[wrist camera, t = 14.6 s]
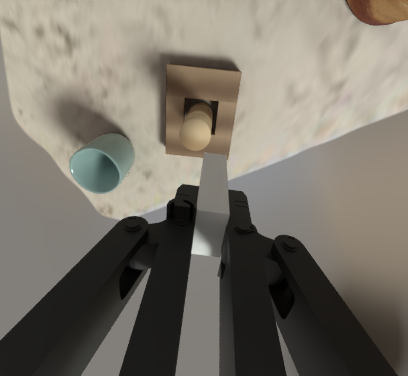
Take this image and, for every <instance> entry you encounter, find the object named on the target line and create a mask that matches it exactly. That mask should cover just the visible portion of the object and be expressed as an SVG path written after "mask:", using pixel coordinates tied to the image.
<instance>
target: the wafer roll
mask: <svg viewBox="0 0 408 376" xmlns="http://www.w3.org/2000/svg"><path fill="white" fill-rule="evenodd" d="M347 2H348V5H349V6H350V8H351V10H352V12H353V14H354V15H355V16H356V17H357V18H358V19H359V20H360V21H362V22H364V23H366V24H369V25H377V26H378V25H388V24H392V23H395V22H399V21H404V20H408V0H347Z"/></svg>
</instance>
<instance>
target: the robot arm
mask: <svg viewBox="0 0 408 376" xmlns="http://www.w3.org/2000/svg"><path fill="white" fill-rule="evenodd" d="M191 254H199V255H208V256H214V257H220V255H221V263H220V267H219V271H218V276H219V277H220V362H219V368H220V370H219V372H220V373H219V376H286V371H285V366H284V361H283V356H282V351H281V346H280V342H279V336H278V332H277V327H276V322H277V325H278V327H279V329H280V332H281V334H282V336H283V339H284V341H285V343H286V346H287V348H288V350H289V353H290V355H291V357H292V359H293V362H294V364H295V367H296V369H297V371H298V373H299V376H398V375H397V374H396V373H395V371H394V370H393V368H392V367H391V366H390V364H389V363H388V362H387V360H386V359H385V357H384V356H383V355H382V353H381V352H380V350H379V349H378V348H377V346H376V345H375V344H374V342H373V341H372V339H371V338H370V337H369V335H368V334H367V333H366V331H365V330H364V328H363V327H362V326H361V324H360V323H359V321H358V320H357V319H356V317H355V316H354V315H353V313H352V312H351V310H350V309H349V308H348V306H347V305H346V303H345V302H344V301H343V299H342V298H341V297H340V295H339V294H338V292H337V291H336V290H335V288H334V287H333V285H332V284H331V283H330V281H329V280H328V278H327V277H326V276H325V274H324V273H323V271H322V270H321V269H320V267H319V266H318V265H317V263H316V262H315V260H314V259H313V258H312V256H311V255H310V254H309V252H308V251H307V249H306V248H305V247H304V245H303V244H302V243H301V242H300V241H299V240H297V239H296V238H294V237H292V236H288V235H279V236H277V237H276V238H275V240H273V239H270V238H267V237H264V236H262V235H261V234H259V233H258V232H257V229H256V227H255V226H254V225H253V224H252V223H251V217H250V212H249V206H248V201H247V197H246V195H245V194H244V193H243V192H242V191H235V190H228V179H227V163H226V155H221V154H213V153H206V152H204V157H203V164H202V171H201V178H200V185H199V186H193V185H185V184H182V185H181V186H180V187H179V188H178V189H177V193H176V196H175V199H172V200H170V201H169V202H168V204H167V217H166V220H164V221H162V222H160V223H154V224H148V222H147V221H146V220H145V219H144V218H142V217H137V216H131V217H127V218H124V219H122V220H121V221H119V222H118V223H117V224H116V225H115V226H114V227H113V228H112V229H111V230H110V231H109V232H108V233H107V234H106V235H105V236H104V237H103V238H102V239H101V240H100V241H99V242H98V243H97V244H96V245H95V246H94V247H93V248H92V249H91V250H90V251H89V252H88V253H87V254H86V255H85V256H84V257H83V258H82V259H81V260H80V261H79V262H78V263H77V264H76V265H75V266H74V267H73V268H72V269H71V270H70V271H69V272H68V273H67V274H66V275H65V277H64V278H62V280H60V281H59V282H58V283H57V284H56V285H55V286H54V287H53V288H52V289H51V290H50V292H48V293H47V294H46V295H45V296H44V297H43V298H42V299H41V300H40V301H39V302H38V303H37V304H36V305H35V306H34V307H33V309H32V310H30V311H29V312H28V313H27V314H26V316H24V317H23V318H22V320H21V321H20V322H18V323H17V324H16V325H15V326H14V327H13V328H12V330H10V331H9V332H8V333H7V334H6V335H5V336H4V337H3V338H2V339H1V340H0V376H81V374H82V372H83V371H84V370H85V368H86V367H87V365H88V363H89V362H90V360H91V359H92V357H93V356H94V354H95V352H96V351H97V349H98V348H99V346H100V345H101V343H102V341H103V340H104V338H105V337H106V335H107V333H108V332H109V331H110V329H111V327H112V326H113V324H114V323H115V321H116V320H117V318H118V316H119V315H120V313H121V312H122V310H123V309H124V307H125V305H126V304H127V302H128V301H129V299H130V298H131V296H132V294H133V293H134V291H135V290H136V288H137V287H138V285H139V283H140V282H141V280H142V279H143V277H144V276H145V274H146V273H147V270H148V269H149V268H151V272H150V275H149V278H148V281H147V285H146V288H145V291H144V295H143V298H142V301H141V304H140V308H139V311H138V314H137V318H136V321H135V325H134V327H133V331H132V334H131V337H130V341H129V344H128V347H127V351H126V354H125V357H124V361H123V364H122V367H121V370H120V374H119V376H175V372H176V365H177V357H178V350H179V349H178V348H179V342H180V335H181V326H182V318H183V312H184V304H185V297H186V289H187V282H188V274H189V267H190V259H191ZM275 320H276V321H275Z"/></svg>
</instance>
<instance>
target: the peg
mask: <svg viewBox="0 0 408 376" xmlns="http://www.w3.org/2000/svg"><path fill="white" fill-rule="evenodd" d="M212 118H213V111H212V108H211V107H210V105H209V104H207V103H206V102H196V103H194V104H193V105H192V106H191V108H190V110H189V112H188V114H187V116H186V118H185V120H184V122H183V124H182V126H181V128H180V131H179V138H180V141H181V143H182V144H183V145H184V146H185V147H186V148H187V149H189V150H193V151H198V150H202V149H204V148H205V147H206V146H207V145H208V144H209V142H210V138H211V128H212Z"/></svg>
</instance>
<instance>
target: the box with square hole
mask: <svg viewBox="0 0 408 376" xmlns="http://www.w3.org/2000/svg"><path fill="white" fill-rule="evenodd" d="M241 73H242V72H241V71H233V70H224V69H215V68H206V67H196V66H187V65H178V64H167V78H166V154H172V155H181V156H190V157H200V158H203V157H204V152H206V153H213V154H221V155H226V160H228V156H229V150H230V143H231V137H232V131H233V124H234V118H235V112H236V105H237V99H238V93H239V86H240V80H241ZM186 98H194V99H203V100H212V101H218V109H217V118H216V126H215V131H213V130H211V138H210V142H209V144H208V145H207V146H206V147H205V148H204V149H202V150H198V151H193V150H189V149H187V148H186V147H185V146H184V145H183V144H182V143H181V141H180V138H179V131H180V128H181V126H182V124H183V122H184V120H185V107H186Z"/></svg>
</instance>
